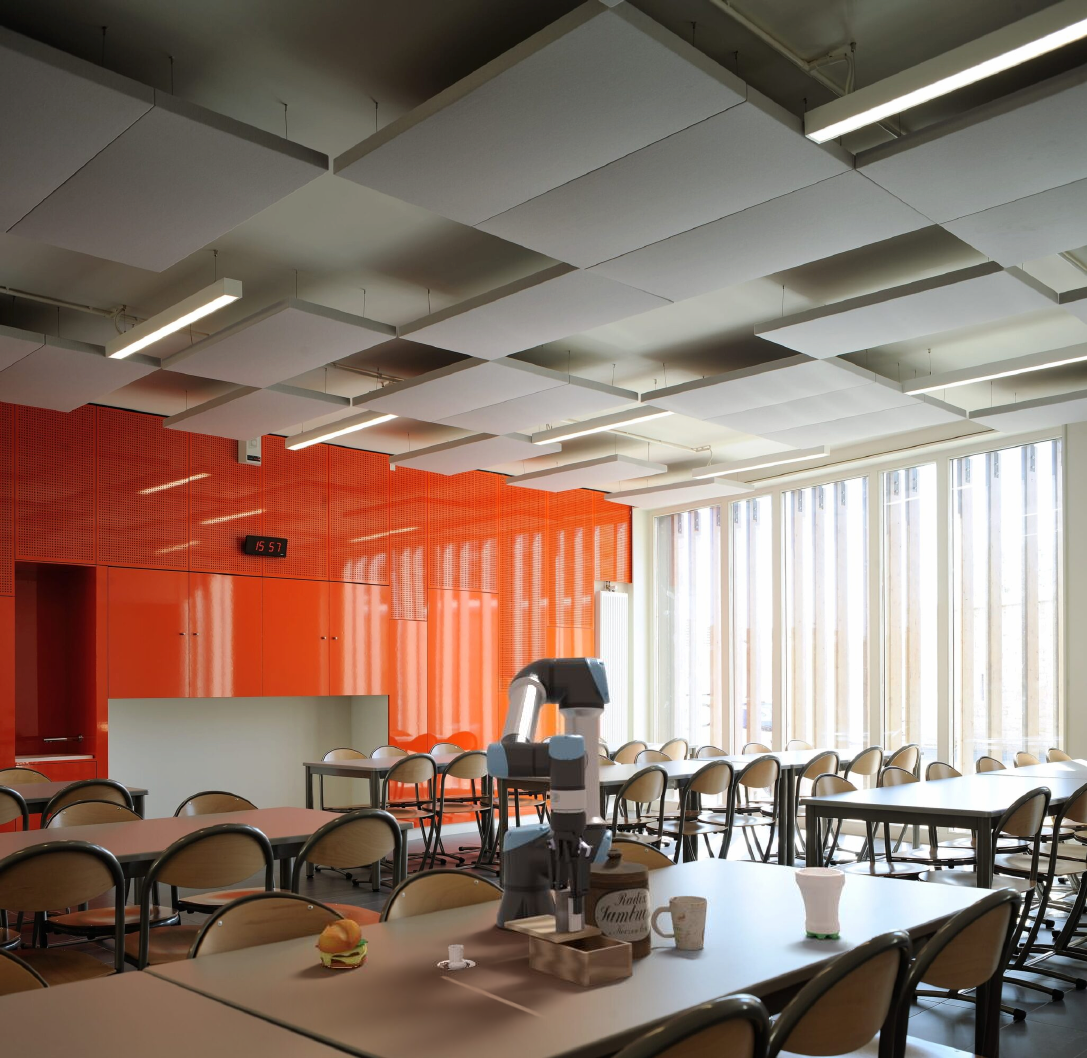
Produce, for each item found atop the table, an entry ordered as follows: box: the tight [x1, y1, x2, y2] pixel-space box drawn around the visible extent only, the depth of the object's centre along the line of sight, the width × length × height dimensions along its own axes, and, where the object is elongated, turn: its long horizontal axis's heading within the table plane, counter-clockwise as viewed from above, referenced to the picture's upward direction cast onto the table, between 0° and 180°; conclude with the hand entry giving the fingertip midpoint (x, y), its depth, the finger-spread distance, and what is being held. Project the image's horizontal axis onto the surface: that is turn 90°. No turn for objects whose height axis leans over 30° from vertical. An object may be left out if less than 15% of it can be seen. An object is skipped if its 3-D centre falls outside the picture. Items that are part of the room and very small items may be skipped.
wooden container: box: [584, 847, 652, 960], centre depth 221 cm, size 15×15×22 cm
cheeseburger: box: [315, 919, 369, 967], centre depth 213 cm, size 10×11×10 cm
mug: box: [650, 895, 708, 951], centre depth 226 cm, size 8×13×10 cm, turn 78°
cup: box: [794, 866, 846, 940], centre depth 234 cm, size 11×11×14 cm
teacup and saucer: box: [437, 944, 477, 971], centre depth 212 cm, size 9×8×4 cm
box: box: [528, 935, 634, 987], centre depth 204 cm, size 18×12×6 cm, turn 38°
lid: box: [505, 888, 602, 943], centre depth 213 cm, size 18×12×9 cm, turn 38°
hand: (569, 928), depth 208 cm, fingers closed on lid, 3 cm apart
